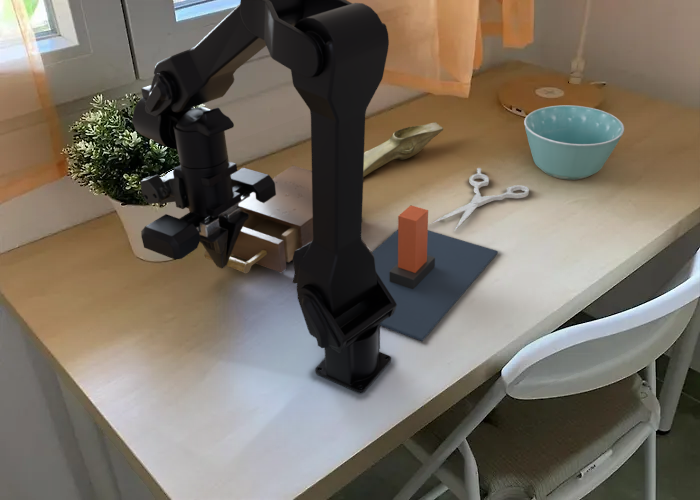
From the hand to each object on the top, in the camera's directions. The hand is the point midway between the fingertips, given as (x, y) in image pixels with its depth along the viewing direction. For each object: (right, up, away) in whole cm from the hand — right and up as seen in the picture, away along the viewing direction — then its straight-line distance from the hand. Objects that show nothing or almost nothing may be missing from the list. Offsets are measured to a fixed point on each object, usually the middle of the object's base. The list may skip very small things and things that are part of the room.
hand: (221, 266), depth 92 cm
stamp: (+25, -1, +2) cm, 25 cm away
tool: (+24, +18, +32) cm, 44 cm away
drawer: (+5, +3, +8) cm, 10 cm away
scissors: (+37, +9, +18) cm, 42 cm away
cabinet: (+9, +5, +13) cm, 17 cm away
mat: (+25, -1, +2) cm, 25 cm away
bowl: (+54, +16, +27) cm, 62 cm away
